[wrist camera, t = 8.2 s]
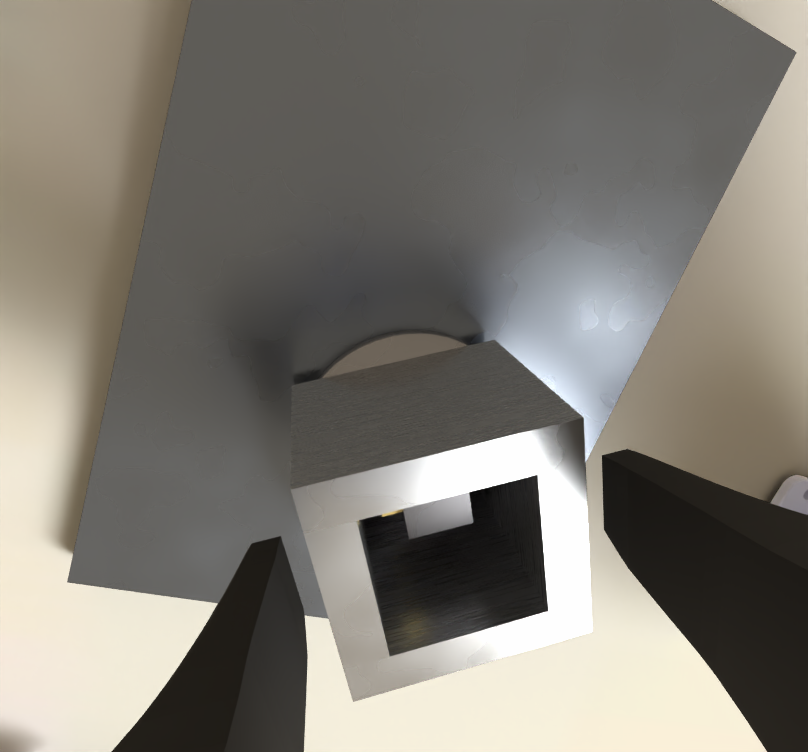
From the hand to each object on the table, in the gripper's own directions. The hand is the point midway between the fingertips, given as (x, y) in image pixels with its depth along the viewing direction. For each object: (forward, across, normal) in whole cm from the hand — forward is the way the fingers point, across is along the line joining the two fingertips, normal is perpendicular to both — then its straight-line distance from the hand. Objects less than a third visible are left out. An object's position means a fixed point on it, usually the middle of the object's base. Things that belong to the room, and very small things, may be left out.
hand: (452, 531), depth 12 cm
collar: (+4, 0, 0) cm, 4 cm away
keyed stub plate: (+6, 0, -3) cm, 6 cm away
